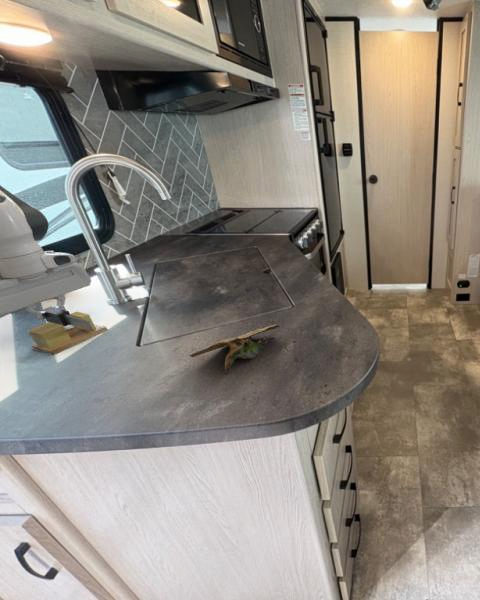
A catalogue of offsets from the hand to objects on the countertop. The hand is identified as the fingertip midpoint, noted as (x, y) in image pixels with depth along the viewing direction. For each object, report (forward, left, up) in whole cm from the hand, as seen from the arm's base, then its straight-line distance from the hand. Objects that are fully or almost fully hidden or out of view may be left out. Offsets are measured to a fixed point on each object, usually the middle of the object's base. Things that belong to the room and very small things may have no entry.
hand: (53, 315), depth 81 cm
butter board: (+7, -9, -3) cm, 12 cm away
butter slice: (+9, -6, -2) cm, 11 cm away
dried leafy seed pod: (+48, -29, -3) cm, 57 cm away
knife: (+5, -4, -2) cm, 6 cm away
